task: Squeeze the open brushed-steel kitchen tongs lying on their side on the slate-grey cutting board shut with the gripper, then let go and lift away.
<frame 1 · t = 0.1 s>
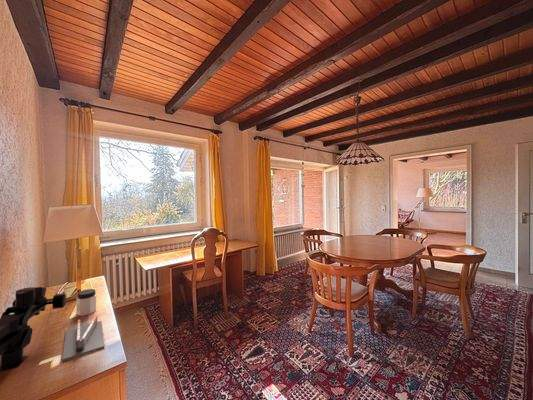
hand: (50, 296, 113), 17 cm above the table, tool horizontal, fingers open, 9 cm apart
jar: (86, 312, 130), on the table
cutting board: (84, 339, 105), on the table
tongs fixed arm: (79, 352, 97), resting on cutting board
tongs moving arm: (90, 330, 108), point 3 cm above the table, hinge at 15.0°
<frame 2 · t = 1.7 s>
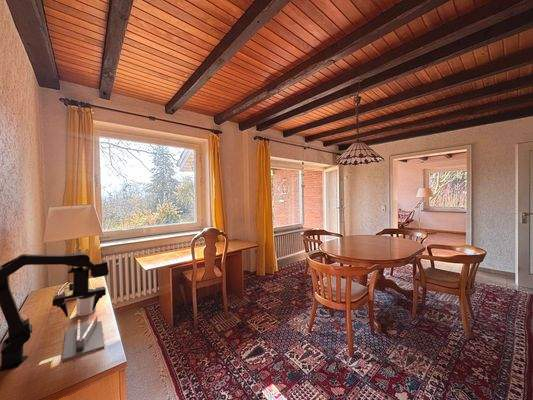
hand: (80, 313, 104), 12 cm above the table, tool pointing down, fingers open, 9 cm apart
nothing on the table moved.
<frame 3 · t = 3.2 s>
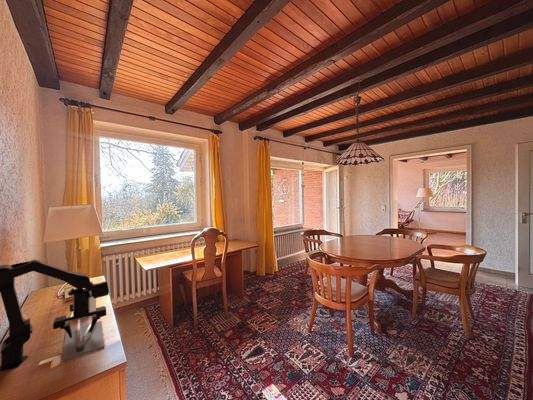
hand: (81, 335, 105), 3 cm above the table, tool pointing down, fingers open, 7 cm apart
tongs moving arm: (89, 330, 107), point 3 cm above the table, hinge at 14.1°, touching gripper
everything else where it was.
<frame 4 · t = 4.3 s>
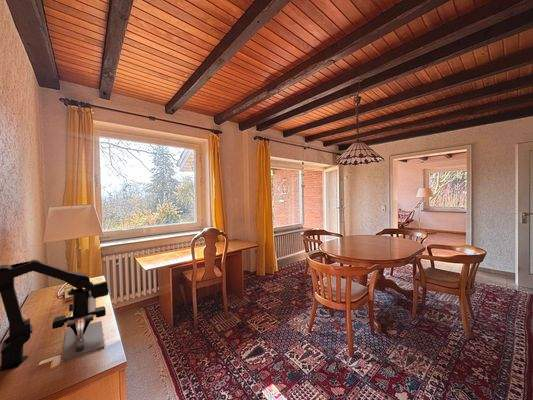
hand: (80, 334, 105), 3 cm above the table, tool pointing down, fingers closed
tongs moving arm: (82, 331, 106), point 3 cm above the table, hinge at -0.1°, touching gripper
everything else where it was.
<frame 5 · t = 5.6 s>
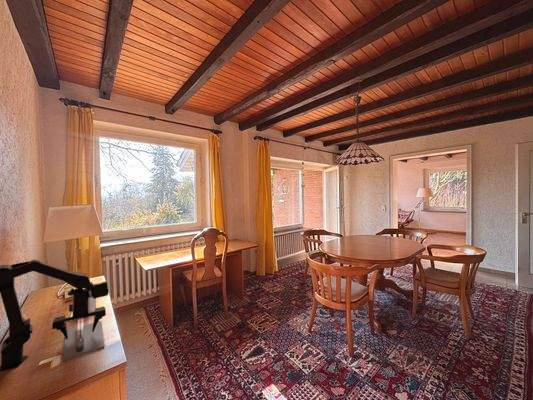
hand: (80, 335, 104), 3 cm above the table, tool pointing down, fingers open, 9 cm apart
tongs moving arm: (82, 331, 106), point 3 cm above the table, hinge at -0.1°
everything else where it was.
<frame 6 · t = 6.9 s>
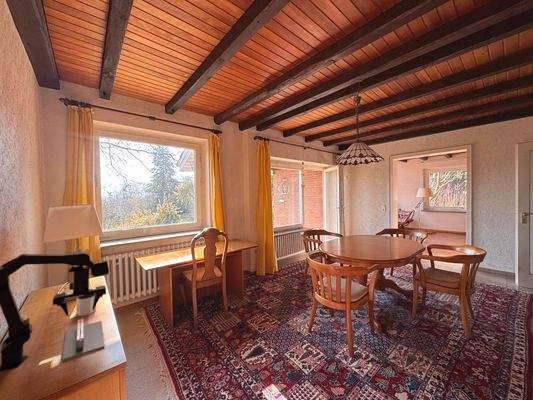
hand: (80, 312, 104), 13 cm above the table, tool pointing down, fingers open, 9 cm apart
nothing on the table moved.
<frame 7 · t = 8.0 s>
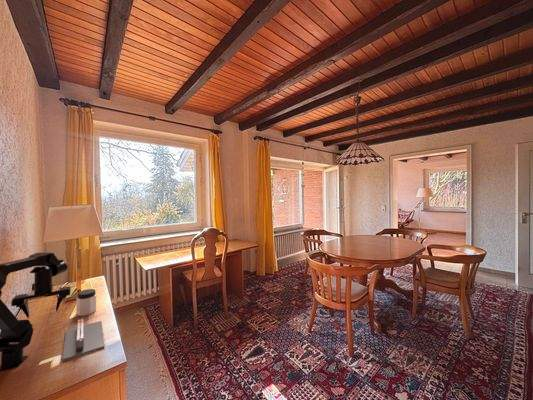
hand: (42, 314, 103), 13 cm above the table, tool pointing down, fingers open, 9 cm apart
nothing on the table moved.
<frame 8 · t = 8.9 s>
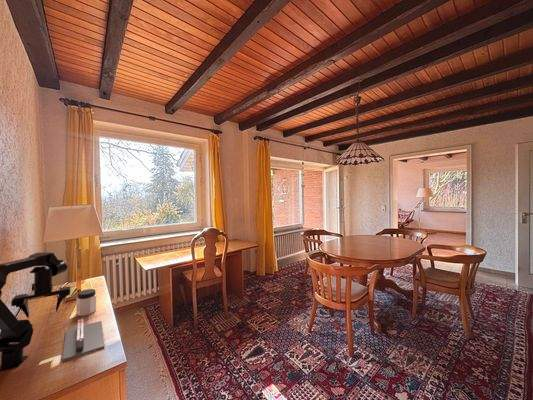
hand: (42, 314, 103), 13 cm above the table, tool pointing down, fingers open, 9 cm apart
nothing on the table moved.
at the end: tongs moving arm at +0° (first picture: +15°) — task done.
